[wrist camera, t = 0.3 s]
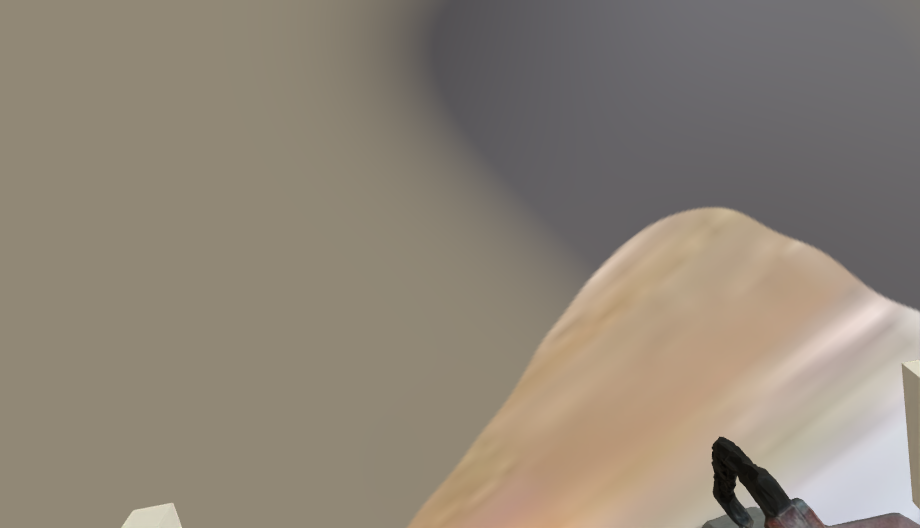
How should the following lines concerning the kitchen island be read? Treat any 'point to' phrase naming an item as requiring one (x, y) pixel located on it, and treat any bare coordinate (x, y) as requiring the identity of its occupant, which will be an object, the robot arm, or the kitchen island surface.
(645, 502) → the kitchen island surface
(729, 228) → the kitchen island surface
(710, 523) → the moka pot
